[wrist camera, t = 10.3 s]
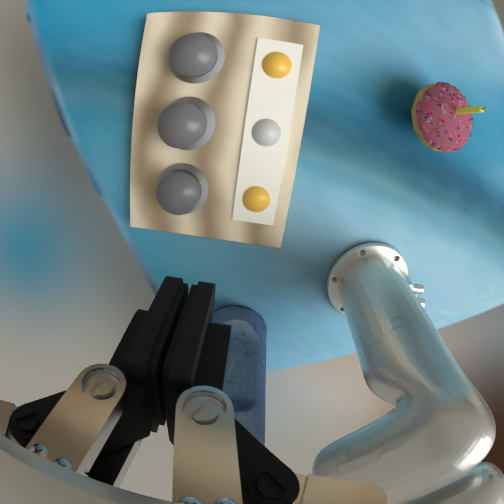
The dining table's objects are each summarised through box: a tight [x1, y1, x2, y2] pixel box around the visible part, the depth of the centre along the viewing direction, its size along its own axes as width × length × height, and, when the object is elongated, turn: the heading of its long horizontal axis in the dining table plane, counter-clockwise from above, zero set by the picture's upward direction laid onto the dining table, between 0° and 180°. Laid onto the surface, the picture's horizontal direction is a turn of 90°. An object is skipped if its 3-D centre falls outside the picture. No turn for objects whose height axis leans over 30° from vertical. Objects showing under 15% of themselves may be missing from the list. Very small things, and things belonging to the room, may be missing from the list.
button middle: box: [157, 102, 207, 149], centre depth 30 cm, size 5×5×2 cm
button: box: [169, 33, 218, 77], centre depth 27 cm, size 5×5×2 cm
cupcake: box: [411, 82, 487, 152], centre depth 26 cm, size 9×8×12 cm
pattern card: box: [232, 38, 303, 226], centre depth 33 cm, size 5×22×1 cm, turn 172°
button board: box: [130, 12, 320, 248], centre depth 33 cm, size 20×28×2 cm
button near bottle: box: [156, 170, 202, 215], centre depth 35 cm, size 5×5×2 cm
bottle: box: [212, 306, 266, 445], centre depth 35 cm, size 10×10×30 cm
